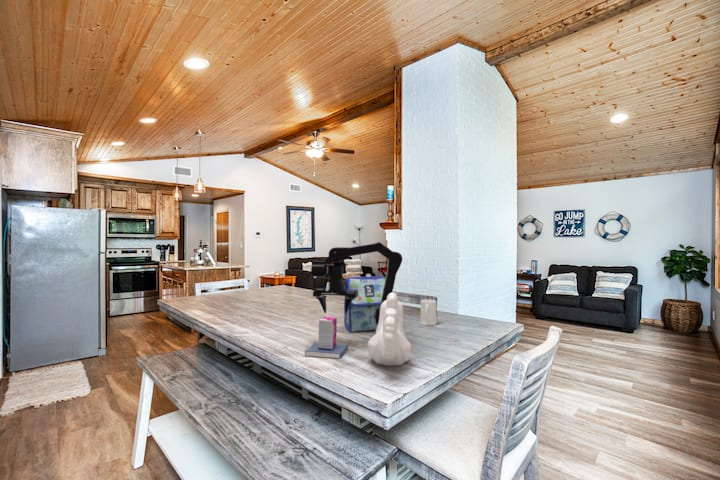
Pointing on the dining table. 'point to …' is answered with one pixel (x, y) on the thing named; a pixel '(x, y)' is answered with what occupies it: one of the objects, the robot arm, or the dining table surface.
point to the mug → (428, 312)
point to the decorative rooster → (390, 335)
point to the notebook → (327, 351)
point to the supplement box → (327, 333)
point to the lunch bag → (363, 302)
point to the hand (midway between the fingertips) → (335, 313)
